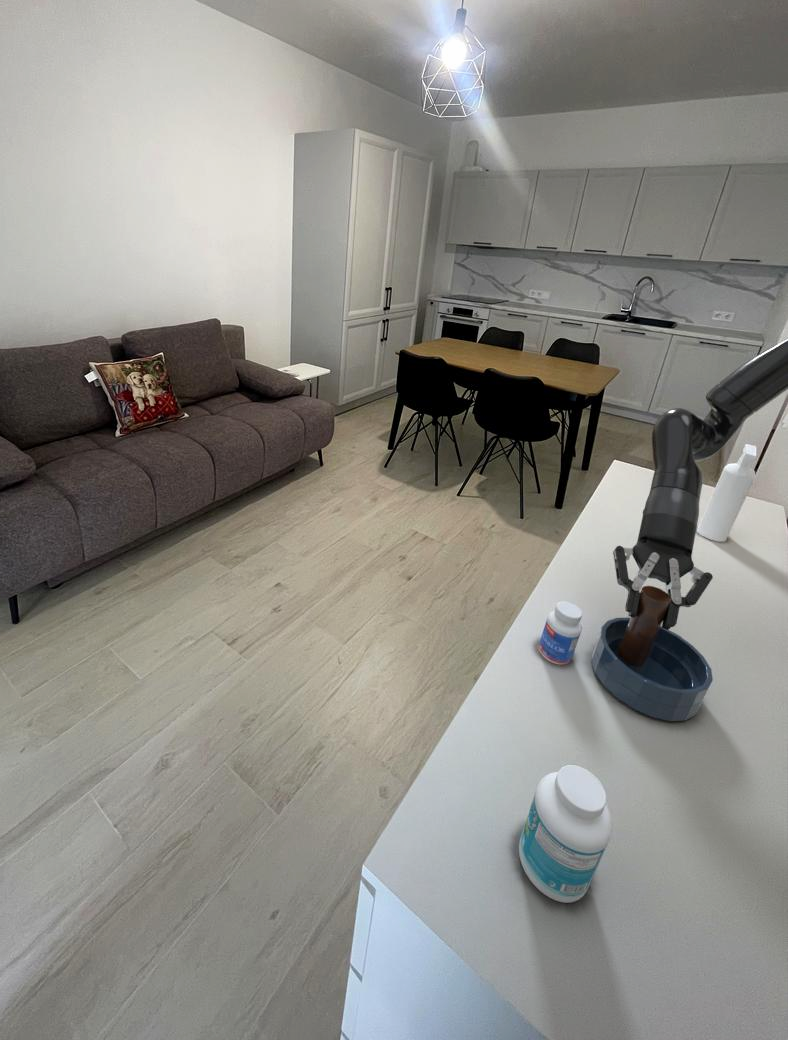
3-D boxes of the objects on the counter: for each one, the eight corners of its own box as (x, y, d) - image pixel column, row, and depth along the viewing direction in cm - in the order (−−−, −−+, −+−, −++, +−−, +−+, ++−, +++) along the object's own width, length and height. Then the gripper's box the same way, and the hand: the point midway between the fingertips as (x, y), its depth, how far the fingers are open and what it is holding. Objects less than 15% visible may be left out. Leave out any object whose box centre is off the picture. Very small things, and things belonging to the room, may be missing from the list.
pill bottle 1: (532, 650, 86) (545, 605, 82) (547, 637, 89) (560, 593, 85) (562, 671, 82) (577, 625, 78) (577, 656, 85) (592, 611, 82)
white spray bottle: (728, 530, 131) (766, 442, 121) (727, 549, 122) (767, 456, 112) (698, 520, 134) (733, 435, 125) (694, 538, 126) (731, 447, 116)
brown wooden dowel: (648, 659, 81) (675, 596, 77) (639, 671, 79) (666, 606, 74) (623, 644, 84) (647, 582, 79) (613, 655, 82) (637, 592, 77)
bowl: (709, 689, 81) (724, 659, 78) (679, 744, 71) (695, 712, 69) (612, 633, 91) (622, 605, 89) (574, 674, 81) (584, 644, 79)
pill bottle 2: (540, 815, 61) (567, 738, 56) (599, 874, 55) (635, 795, 50) (503, 856, 56) (529, 777, 51) (564, 924, 51) (600, 843, 46)
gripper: (625, 500, 82) (602, 600, 76) (729, 527, 76) (712, 639, 70) (616, 514, 88) (594, 608, 83) (712, 541, 82) (695, 643, 77)
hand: (649, 621), depth 77 cm, fingers closed on brown wooden dowel, 4 cm apart
